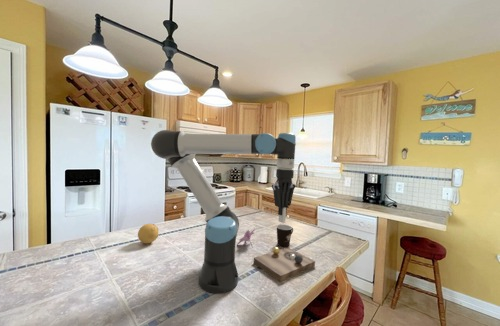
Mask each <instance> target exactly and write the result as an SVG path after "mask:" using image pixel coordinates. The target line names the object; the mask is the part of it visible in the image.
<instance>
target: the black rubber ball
mask: <svg viewBox="0 0 500 326" xmlns="http://www.w3.org/2000/svg"><path fill="white" fill-rule="evenodd" d="M295 262H296V263H301V262H302V257H301V256H300V255H296V256H295Z"/></svg>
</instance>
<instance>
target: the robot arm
mask: <svg viewBox="0 0 500 326" xmlns="http://www.w3.org/2000/svg"><path fill="white" fill-rule="evenodd" d="M296 145H297V143H296V134H294V133H292V132H280V133H279V134H278V136H277V137H274V135H272V134H271V133H267V132H263V133H260V134H259V133H208V134H207V133H186V132H184V131H182V130H181V131H176V130H169V129H164V130H163V129H162V130H159V131H157V132H156V133H155V134H154V135H153V137H151V142H150V146H151V150H152V152H153V153H154V155H156V156H157V157H158V158H160V159H164V160H167V161H168V163H169V164H170V166H171V168H174V169H177V170H178V172H179V174H180V175H181V177H182V179H183V180H184V181H185V183H186V185H187V186H188V188H189V190H190V191H191V193H192V194H193V196H194V198H195V199H196V201H197V203H198V204H199V206H200V208H201V209H202V211H203V212H204V214H205V219H204V220H205V222H206V224H205V228H204V235H205V236H204V254H203V255H204V257H203V258H204V259H203V262H202V266H201V269H200V271H199V274H198V283H197V284H198V286H199V288H200V289H201V290H203V291H205V292H207V293H211V294H222V293H227V292H230V291H231V290H233V289H235V288H236V287H237V285H238V283H239V273H238V268H237V265H236V261H235V259H236V258H235V257H236V242H237V236H238V232H239V229H240V221H239V218H238V216H237V214H236V213H235V212H233V211H232V210H231V208H230V207H229V205H228V204H224V203H222V200H221V199H220V197H219V196H218V194H217V193H216V191H215V190H214V187H213V186H212V185H211V183H210V181H209V179H208V178H207V176H206V175H205V173H204V171H203V169H202V168H201V166H200V165H199V163H198V162H197V160H196V158H195V157H196V155H245V154H246V155H275V156H277V157H276V168H277V169H275V170H276V172H275V173H276V174H275V177H276V181H275V183H274V184H271V188H272V192H273V199H274V206H275V207H277V209H278V211H277V214H278V222H279V223H282V224H284V223H285V224H286V216H287V211H288V210H287V209H290V206H291V204H292V199H293V197H294V190H295V188H296V184H294V183H293V180H292V179H294V172H295V171H294V168H295V158H296V157H295V156H296Z"/></svg>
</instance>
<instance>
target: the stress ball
mask: <svg viewBox="0 0 500 326" xmlns="http://www.w3.org/2000/svg"><path fill="white" fill-rule="evenodd" d="M159 233H160V232H159V228H158V226H157V225H156V224H155V223H146V224H144V225H142V226H141V227H140V228H139V229H138V231H137V238H138V240H139V241H140V242H141V243H142V244H146V245H149V244H151V243H153V242H155V241H156V239H158V237H159V235H160V234H159Z"/></svg>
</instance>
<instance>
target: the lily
mask: <svg viewBox="0 0 500 326" xmlns="http://www.w3.org/2000/svg"><path fill="white" fill-rule="evenodd" d="M254 234H255V229H253V230H251V231H250V230H249V229H248V230H247V231H246V232H244V235H243V237H242V238H240V239H239V240H238V241H237V242H238V243H237V244H236V246H238V245H240V243H242V242H244V243H247V242H250V245H251V248H252V249H254V247H253V244H252V242H251V237H252V235H254Z"/></svg>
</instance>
